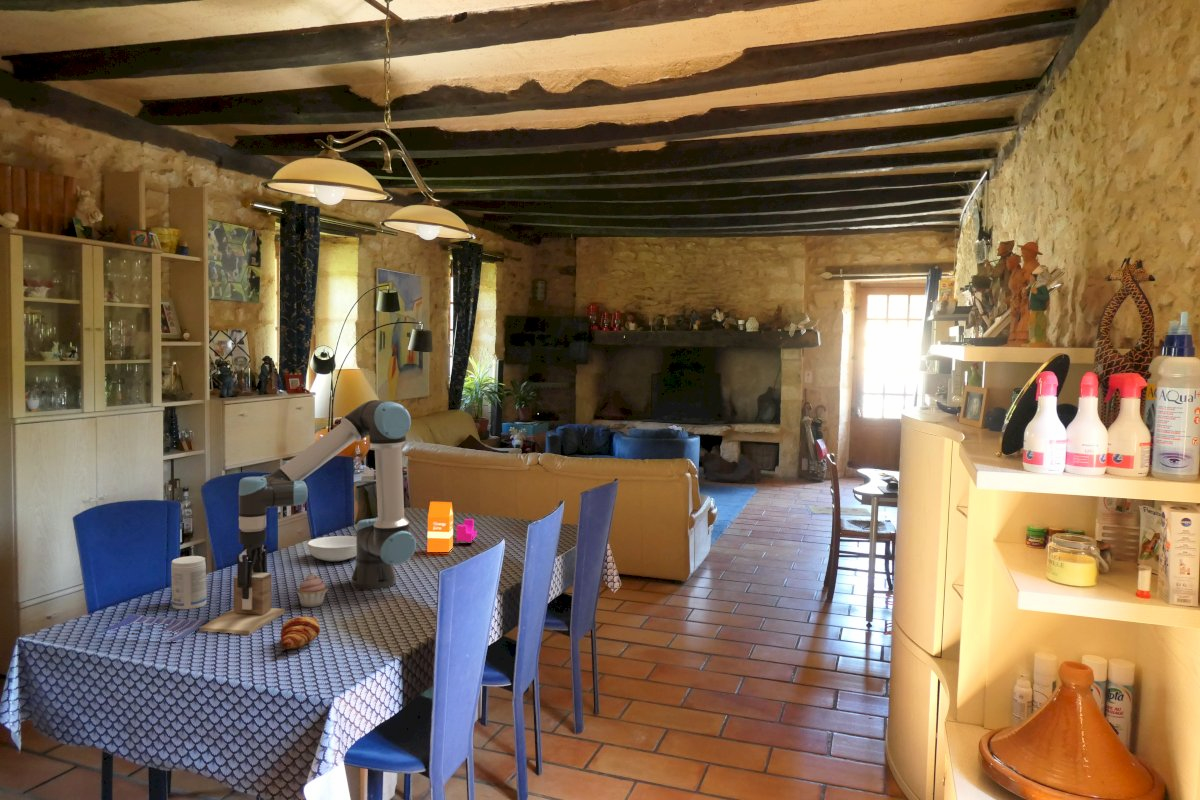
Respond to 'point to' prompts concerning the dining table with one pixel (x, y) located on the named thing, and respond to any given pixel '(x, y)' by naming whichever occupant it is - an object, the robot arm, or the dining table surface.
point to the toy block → (466, 531)
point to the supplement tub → (188, 582)
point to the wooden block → (255, 594)
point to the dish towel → (173, 624)
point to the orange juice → (440, 527)
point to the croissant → (299, 632)
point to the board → (241, 622)
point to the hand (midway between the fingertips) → (252, 606)
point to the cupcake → (312, 591)
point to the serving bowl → (333, 548)
